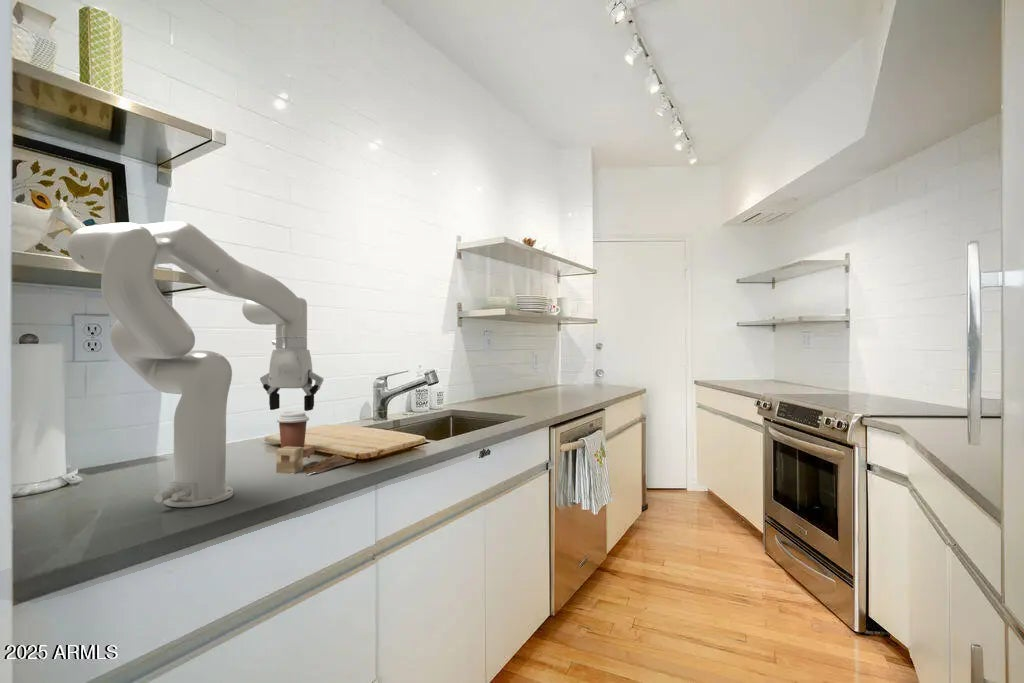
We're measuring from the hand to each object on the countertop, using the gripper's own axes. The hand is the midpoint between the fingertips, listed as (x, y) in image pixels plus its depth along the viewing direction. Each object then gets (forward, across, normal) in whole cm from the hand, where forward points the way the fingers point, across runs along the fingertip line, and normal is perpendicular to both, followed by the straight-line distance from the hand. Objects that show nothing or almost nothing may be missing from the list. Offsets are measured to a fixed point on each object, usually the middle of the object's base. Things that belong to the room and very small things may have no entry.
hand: (291, 409), depth 132 cm
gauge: (+16, 0, +3) cm, 16 cm away
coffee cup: (+16, -13, +21) cm, 30 cm away
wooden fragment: (+17, +7, +8) cm, 20 cm away
